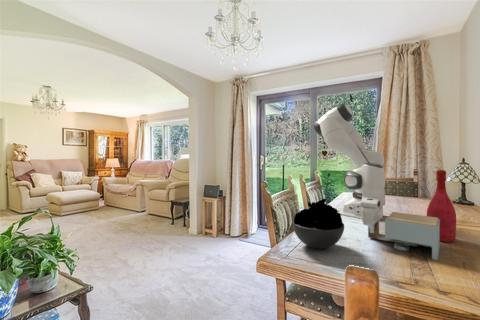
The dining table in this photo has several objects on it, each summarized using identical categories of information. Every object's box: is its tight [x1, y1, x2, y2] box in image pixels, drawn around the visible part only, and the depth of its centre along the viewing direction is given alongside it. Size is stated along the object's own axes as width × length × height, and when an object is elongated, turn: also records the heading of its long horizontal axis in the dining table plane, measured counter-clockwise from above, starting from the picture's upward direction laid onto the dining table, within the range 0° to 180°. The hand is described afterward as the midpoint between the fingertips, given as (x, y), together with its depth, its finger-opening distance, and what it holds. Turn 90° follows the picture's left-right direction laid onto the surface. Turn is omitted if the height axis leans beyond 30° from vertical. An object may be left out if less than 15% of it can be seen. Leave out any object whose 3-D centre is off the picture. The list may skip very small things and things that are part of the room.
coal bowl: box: [292, 198, 345, 250], centre depth 97 cm, size 20×20×19 cm
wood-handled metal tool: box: [367, 220, 419, 248], centre depth 101 cm, size 18×4×7 cm, turn 48°
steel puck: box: [393, 242, 410, 253], centre depth 94 cm, size 5×5×2 cm
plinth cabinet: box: [384, 211, 440, 261], centre depth 94 cm, size 16×14×12 cm
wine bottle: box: [426, 169, 457, 243], centre depth 104 cm, size 10×10×30 cm
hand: (373, 231), depth 106 cm, fingers closed on wood-handled metal tool, 3 cm apart
